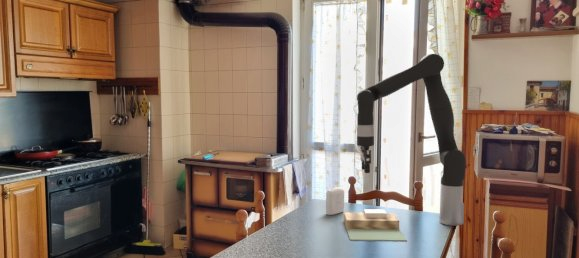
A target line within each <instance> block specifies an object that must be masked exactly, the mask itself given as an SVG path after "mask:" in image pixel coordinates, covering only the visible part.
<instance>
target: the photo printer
mask: <svg viewBox="0 0 579 258" xmlns="http://www.w3.org/2000/svg"><path fill="white" fill-rule="evenodd" d="M325 195H326V196H325V197H326V198H325V214H327V215H328V216H333V215H337V214H340V213H344V212H345V189H344V188H342V187H339V186H335V187H334V186H333V187H332V188H330V189H328V190H327V191H326V193H325Z"/></svg>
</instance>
